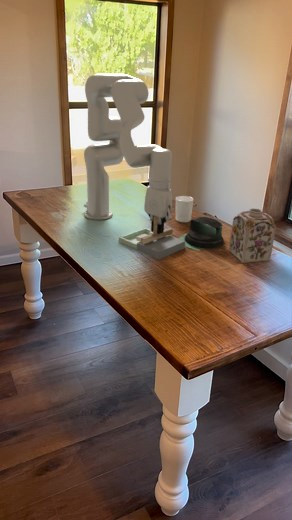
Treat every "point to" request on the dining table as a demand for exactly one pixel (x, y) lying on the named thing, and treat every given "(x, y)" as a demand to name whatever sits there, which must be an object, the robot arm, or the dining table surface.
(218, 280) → the dining table surface
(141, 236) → the tile
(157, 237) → the tan bar
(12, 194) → the dining table surface
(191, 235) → the dark round cap
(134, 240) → the tray
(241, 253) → the decorative jar
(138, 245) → the board
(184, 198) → the white cup
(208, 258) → the dining table surface
